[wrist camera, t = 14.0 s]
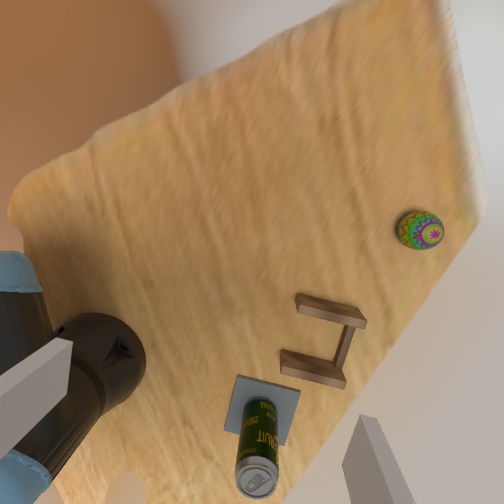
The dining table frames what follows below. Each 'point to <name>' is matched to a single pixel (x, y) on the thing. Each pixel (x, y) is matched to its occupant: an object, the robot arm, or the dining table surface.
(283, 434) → the coaster
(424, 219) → the egg
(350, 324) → the rack
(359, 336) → the dining table surface
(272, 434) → the beer can
